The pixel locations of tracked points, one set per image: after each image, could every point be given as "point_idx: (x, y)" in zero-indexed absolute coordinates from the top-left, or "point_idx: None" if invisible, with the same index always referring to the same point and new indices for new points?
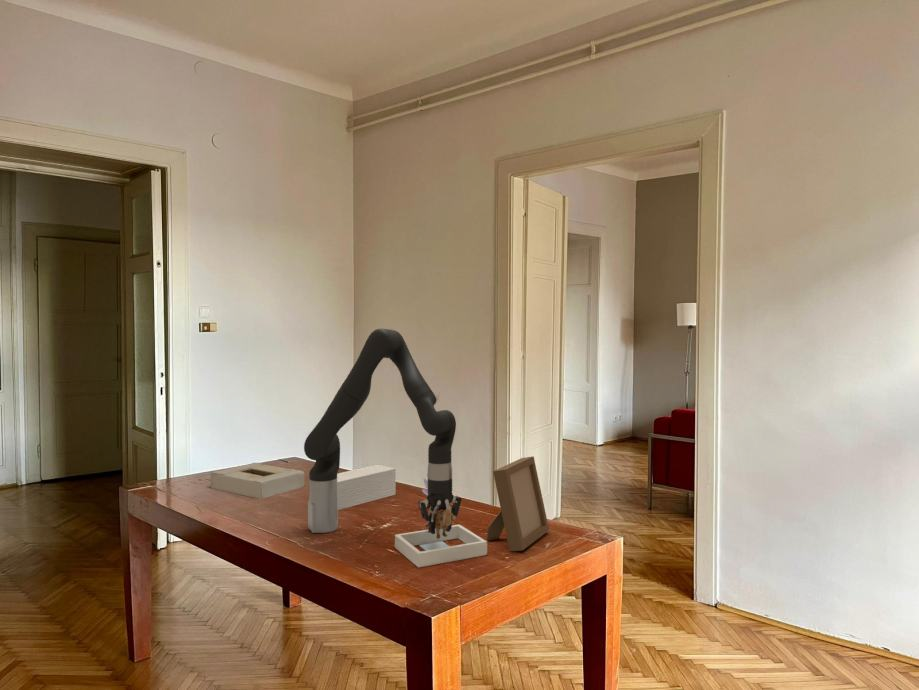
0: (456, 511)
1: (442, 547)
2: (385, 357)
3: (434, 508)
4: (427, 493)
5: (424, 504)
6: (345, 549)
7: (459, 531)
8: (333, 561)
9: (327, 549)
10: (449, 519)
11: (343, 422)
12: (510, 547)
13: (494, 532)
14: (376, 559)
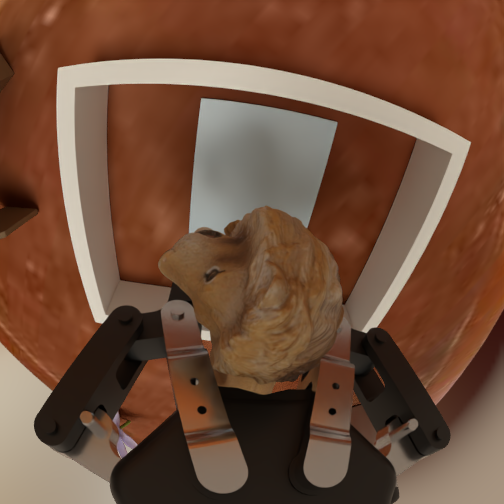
0: (111, 339)
1: (223, 232)
2: None
3: (345, 410)
4: (125, 437)
5: (432, 436)
6: (424, 343)
7: (108, 291)
8: (484, 300)
9: (437, 351)
10: (281, 229)
11: None
12: (2, 73)
13: (2, 218)
14: (447, 266)
